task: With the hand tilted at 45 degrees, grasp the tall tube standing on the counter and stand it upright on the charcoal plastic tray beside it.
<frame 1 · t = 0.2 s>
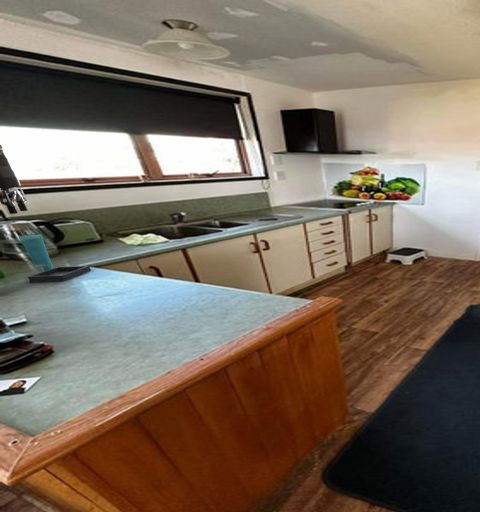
hand: (19, 212, 127), 29 cm above the counter, tool pointing down, fingers open, 8 cm apart
tray: (62, 276, 128), on the counter
tube: (47, 273, 132), on the counter
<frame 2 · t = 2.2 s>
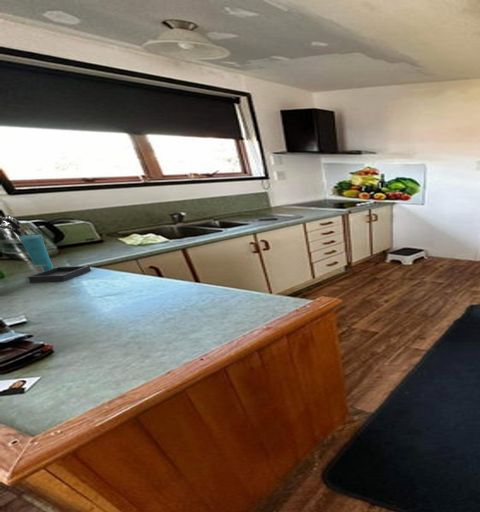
hand: (5, 235, 117), 21 cm above the counter, tool tilted 40°, fingers open, 8 cm apart
nothing on the counter moved.
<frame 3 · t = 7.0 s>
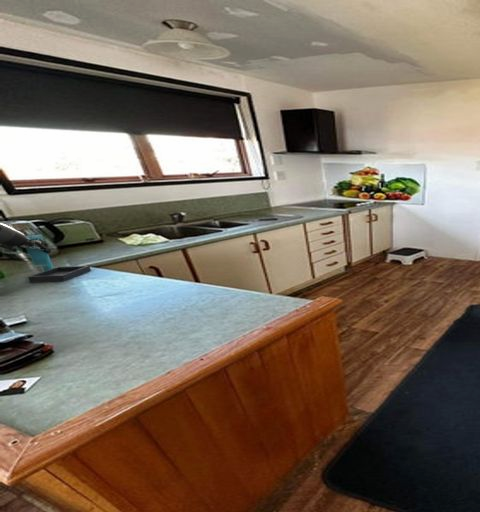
hand: (40, 252, 130), 10 cm above the counter, tool tilted 45°, fingers closed on tube, 6 cm apart
tube: (47, 273, 132), on the counter, touching gripper
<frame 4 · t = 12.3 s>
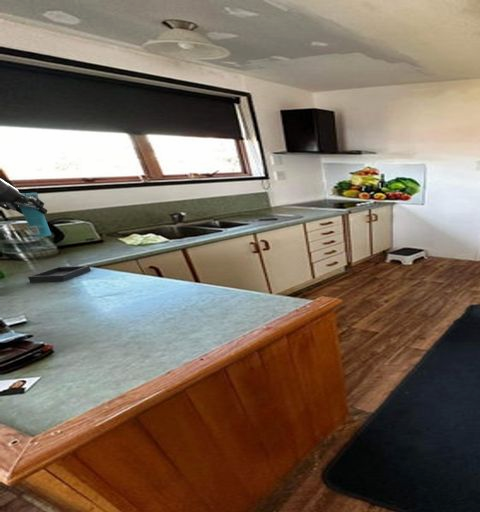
hand: (36, 213, 121), 30 cm above the counter, tool tilted 45°, fingers closed on tube, 6 cm apart
tube: (43, 236, 123), point 19 cm above the counter, touching gripper
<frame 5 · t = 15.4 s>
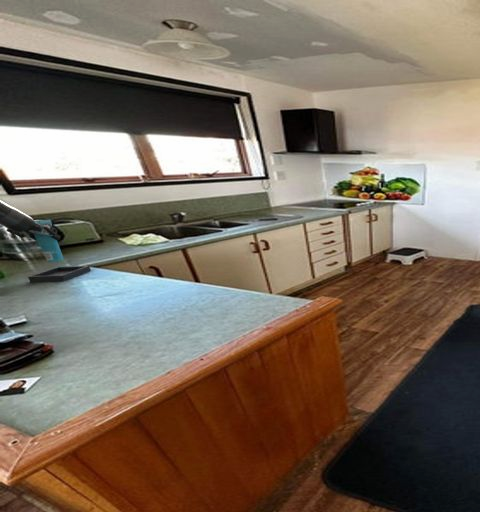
hand: (49, 239, 124), 18 cm above the counter, tool tilted 45°, fingers closed on tube, 6 cm apart
tube: (56, 261, 126), point 7 cm above the counter, touching gripper
when the fingers open (11 cm above the counter, at t = 17.8 s): tube stays where it is, resting on tray.
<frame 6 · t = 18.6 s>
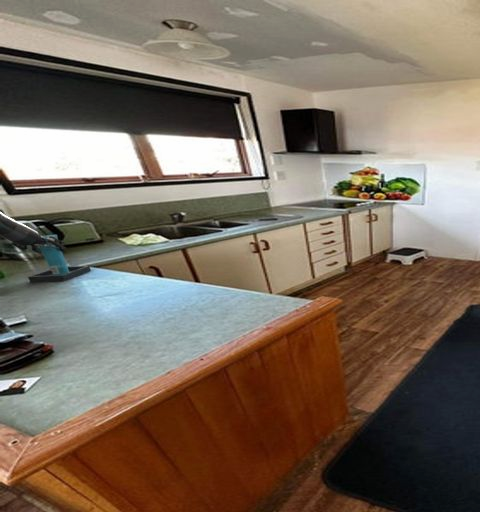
hand: (53, 251, 125), 12 cm above the counter, tool tilted 45°, fingers open, 8 cm apart
tube: (62, 275, 128), resting on tray
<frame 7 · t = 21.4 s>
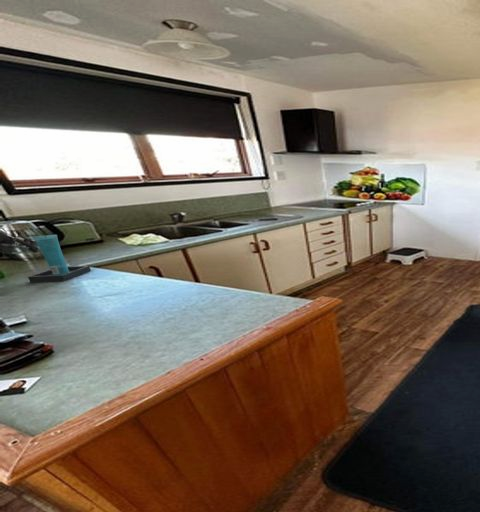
hand: (24, 251, 113), 16 cm above the counter, tool tilted 45°, fingers open, 8 cm apart
nothing on the counter moved.
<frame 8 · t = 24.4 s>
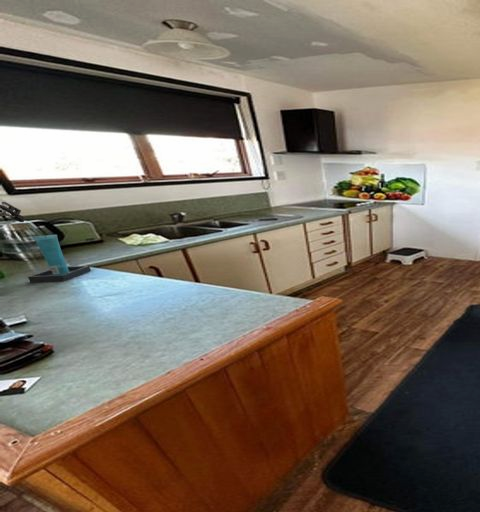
hand: (9, 221, 109), 29 cm above the counter, tool tilted 45°, fingers open, 8 cm apart
nothing on the counter moved.
at the end: tube inside the target area in the tray (0.1 cm from its centre), point 0.4 cm above the tray's base; tube tilted 0°; the gripper is holding nothing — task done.
